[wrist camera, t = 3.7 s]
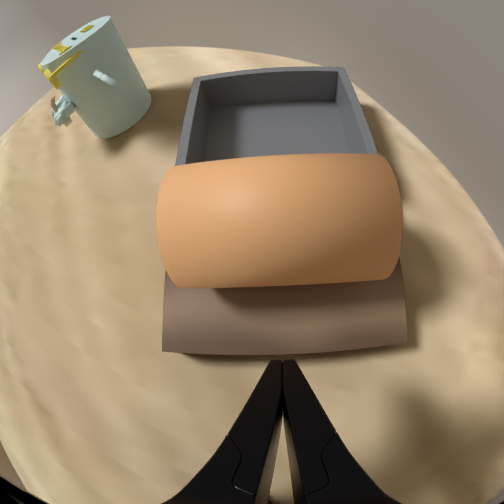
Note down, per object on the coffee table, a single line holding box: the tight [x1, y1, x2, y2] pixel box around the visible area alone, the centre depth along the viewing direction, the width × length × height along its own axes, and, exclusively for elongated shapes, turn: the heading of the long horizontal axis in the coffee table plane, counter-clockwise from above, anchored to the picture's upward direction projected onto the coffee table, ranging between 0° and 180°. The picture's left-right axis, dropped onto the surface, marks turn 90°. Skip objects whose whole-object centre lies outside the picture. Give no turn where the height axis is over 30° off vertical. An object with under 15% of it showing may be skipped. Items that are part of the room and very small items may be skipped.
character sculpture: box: [38, 16, 152, 138], centre depth 23 cm, size 20×12×13 cm, turn 45°
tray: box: [175, 67, 378, 166], centre depth 22 cm, size 12×15×4 cm
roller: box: [156, 153, 403, 289], centre depth 15 cm, size 11×7×7 cm, turn 90°
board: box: [162, 258, 408, 355], centre depth 19 cm, size 12×16×2 cm
